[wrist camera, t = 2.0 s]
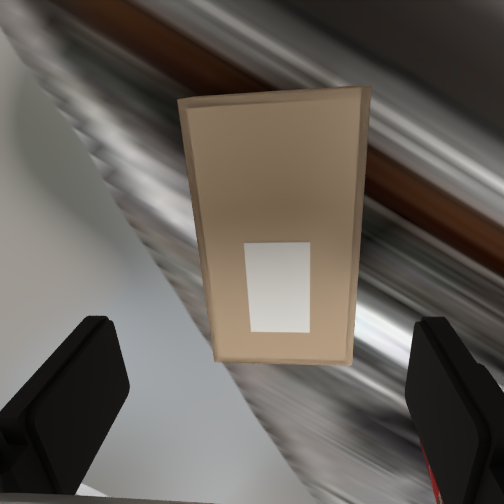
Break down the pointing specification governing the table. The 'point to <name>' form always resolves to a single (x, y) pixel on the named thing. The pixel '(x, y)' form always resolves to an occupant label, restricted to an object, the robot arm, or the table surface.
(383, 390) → the table surface
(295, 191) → the lid
